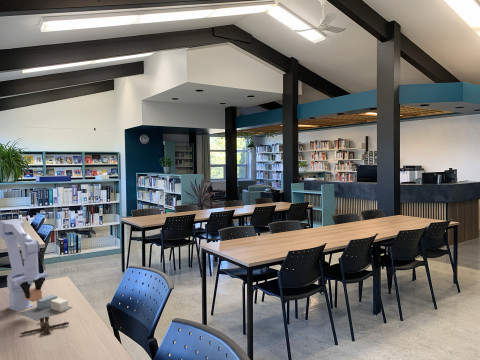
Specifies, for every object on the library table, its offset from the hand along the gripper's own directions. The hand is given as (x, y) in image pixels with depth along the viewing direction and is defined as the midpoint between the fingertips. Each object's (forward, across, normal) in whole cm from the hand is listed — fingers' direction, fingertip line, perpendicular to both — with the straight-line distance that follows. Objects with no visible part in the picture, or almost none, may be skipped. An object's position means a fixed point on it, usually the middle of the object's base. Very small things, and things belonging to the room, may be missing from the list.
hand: (32, 296), depth 168 cm
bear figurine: (+9, -5, -19) cm, 22 cm away
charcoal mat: (+9, +6, 0) cm, 10 cm away
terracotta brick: (+1, 0, 0) cm, 1 cm away
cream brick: (+8, +10, -4) cm, 14 cm away
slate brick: (+8, +9, +4) cm, 13 cm away
